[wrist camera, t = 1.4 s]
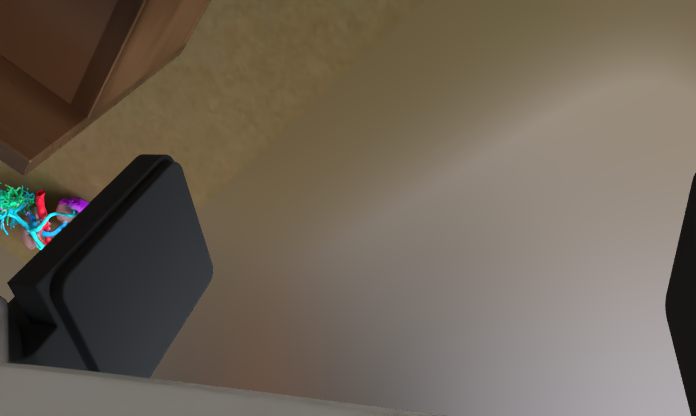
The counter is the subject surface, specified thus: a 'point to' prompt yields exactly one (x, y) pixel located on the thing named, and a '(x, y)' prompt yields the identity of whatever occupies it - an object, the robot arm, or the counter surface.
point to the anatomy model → (36, 215)
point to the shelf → (78, 65)
